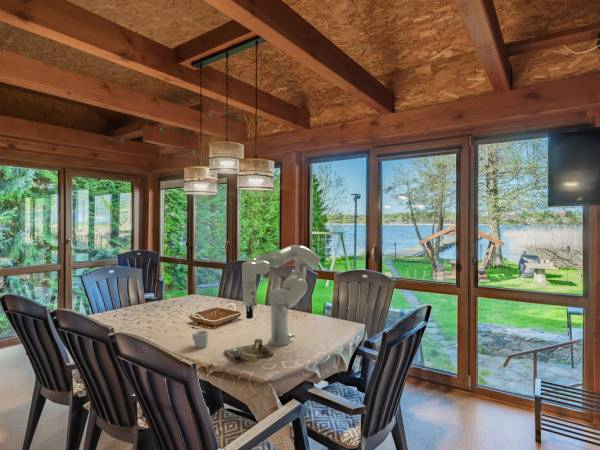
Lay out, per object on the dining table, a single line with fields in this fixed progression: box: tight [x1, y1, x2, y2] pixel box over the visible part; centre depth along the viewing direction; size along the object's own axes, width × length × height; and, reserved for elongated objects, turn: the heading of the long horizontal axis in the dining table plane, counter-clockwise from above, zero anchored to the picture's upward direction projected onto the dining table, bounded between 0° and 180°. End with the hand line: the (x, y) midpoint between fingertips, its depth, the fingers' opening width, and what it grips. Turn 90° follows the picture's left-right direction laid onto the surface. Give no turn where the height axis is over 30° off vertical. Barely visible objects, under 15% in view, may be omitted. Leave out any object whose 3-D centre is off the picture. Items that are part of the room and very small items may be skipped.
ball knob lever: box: [253, 338, 263, 353], centre depth 192 cm, size 13×4×3 cm, turn 2°
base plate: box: [223, 344, 274, 365], centre depth 189 cm, size 21×18×4 cm
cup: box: [192, 330, 209, 349], centre depth 201 cm, size 11×8×8 cm
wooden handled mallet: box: [234, 350, 258, 363], centre depth 178 cm, size 13×4×3 cm, turn 62°
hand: (249, 318), depth 191 cm, fingers closed
